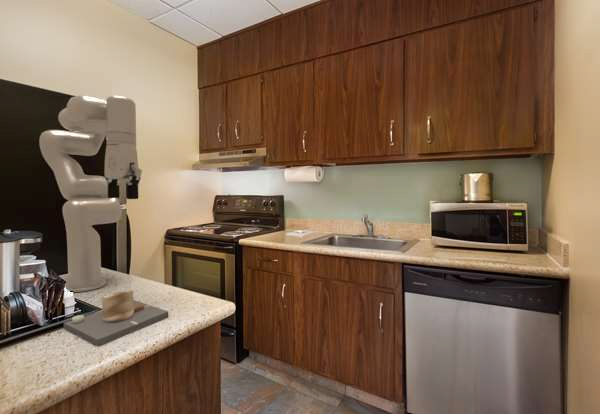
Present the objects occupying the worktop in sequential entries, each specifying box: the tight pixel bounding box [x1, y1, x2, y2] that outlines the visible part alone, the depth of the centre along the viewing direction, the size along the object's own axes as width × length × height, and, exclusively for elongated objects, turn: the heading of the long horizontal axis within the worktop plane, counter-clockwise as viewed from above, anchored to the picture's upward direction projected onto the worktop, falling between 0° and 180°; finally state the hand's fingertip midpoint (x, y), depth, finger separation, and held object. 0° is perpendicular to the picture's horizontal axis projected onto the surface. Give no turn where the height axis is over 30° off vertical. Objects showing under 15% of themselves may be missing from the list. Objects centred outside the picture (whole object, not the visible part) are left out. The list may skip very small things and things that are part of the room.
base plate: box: [63, 299, 169, 347], centre depth 78 cm, size 16×18×3 cm
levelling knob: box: [101, 288, 144, 323], centre depth 79 cm, size 10×7×6 cm
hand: (122, 198), depth 88 cm, fingers open, 9 cm apart
